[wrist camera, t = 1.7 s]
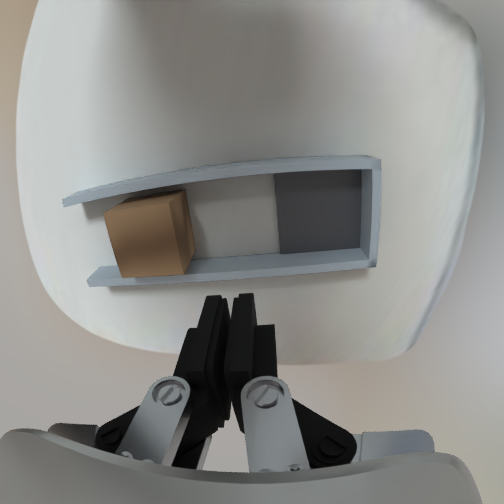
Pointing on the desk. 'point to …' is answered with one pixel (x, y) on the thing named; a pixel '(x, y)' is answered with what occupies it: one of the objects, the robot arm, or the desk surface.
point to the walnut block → (152, 234)
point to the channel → (280, 218)
